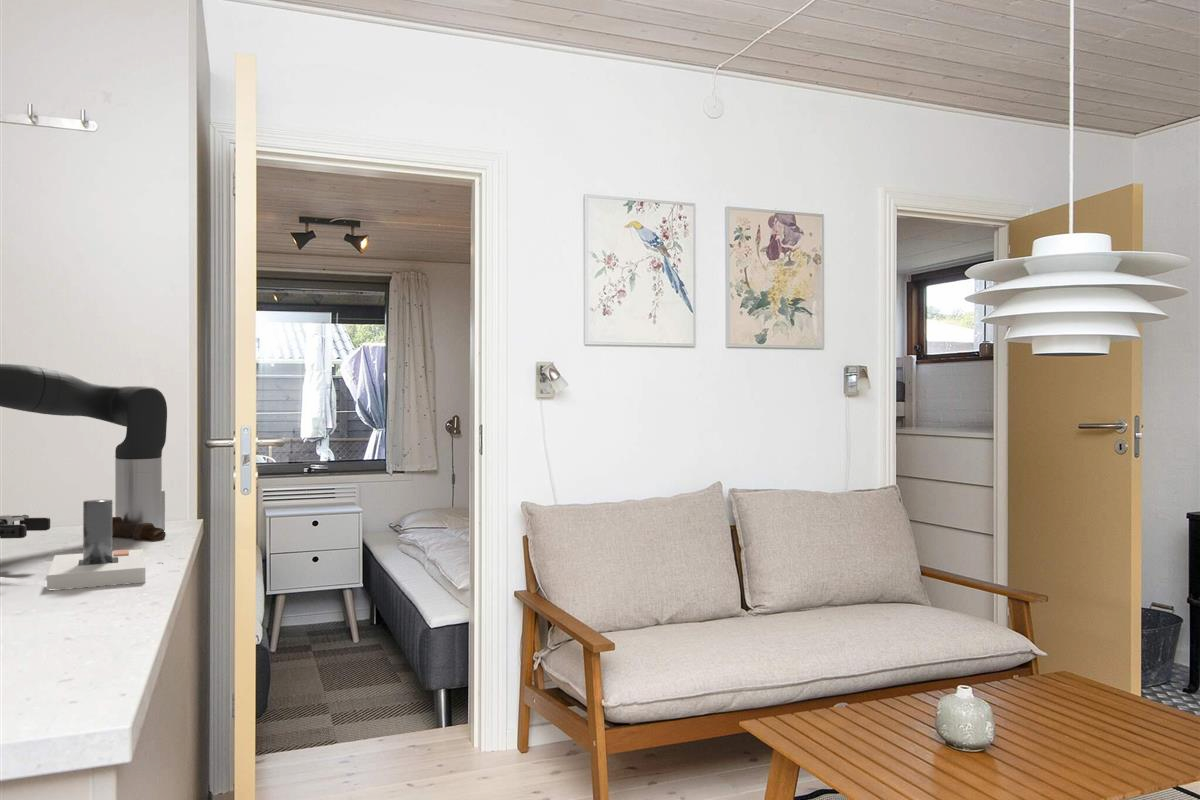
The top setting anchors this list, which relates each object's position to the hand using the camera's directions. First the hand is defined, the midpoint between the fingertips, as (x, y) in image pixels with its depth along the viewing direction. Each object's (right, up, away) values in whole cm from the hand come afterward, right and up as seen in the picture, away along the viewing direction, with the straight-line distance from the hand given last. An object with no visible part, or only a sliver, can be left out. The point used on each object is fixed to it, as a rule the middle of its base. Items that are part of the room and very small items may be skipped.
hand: (37, 527), depth 152 cm
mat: (-3, -8, +17) cm, 19 cm away
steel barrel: (+9, -9, +2) cm, 13 cm away
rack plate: (+10, -9, +2) cm, 13 cm away
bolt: (-3, -9, +36) cm, 37 cm away
